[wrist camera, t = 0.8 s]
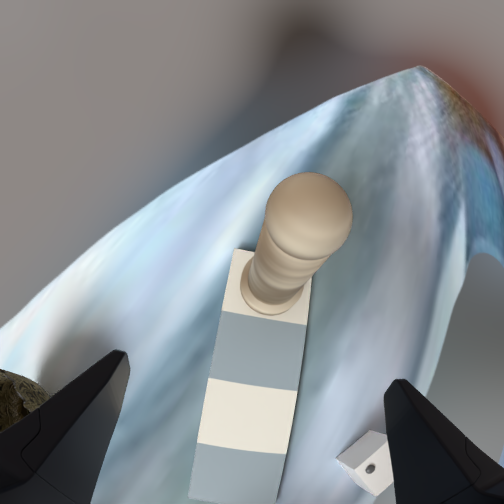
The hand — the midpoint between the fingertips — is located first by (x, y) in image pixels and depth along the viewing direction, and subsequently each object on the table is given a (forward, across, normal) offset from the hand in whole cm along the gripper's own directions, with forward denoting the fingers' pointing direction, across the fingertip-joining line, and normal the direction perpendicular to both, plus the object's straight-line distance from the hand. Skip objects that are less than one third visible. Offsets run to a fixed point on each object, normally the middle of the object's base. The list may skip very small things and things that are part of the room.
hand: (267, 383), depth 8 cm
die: (+4, -12, +16) cm, 20 cm away
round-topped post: (+15, -2, +6) cm, 16 cm away
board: (+9, -1, +12) cm, 15 cm away
